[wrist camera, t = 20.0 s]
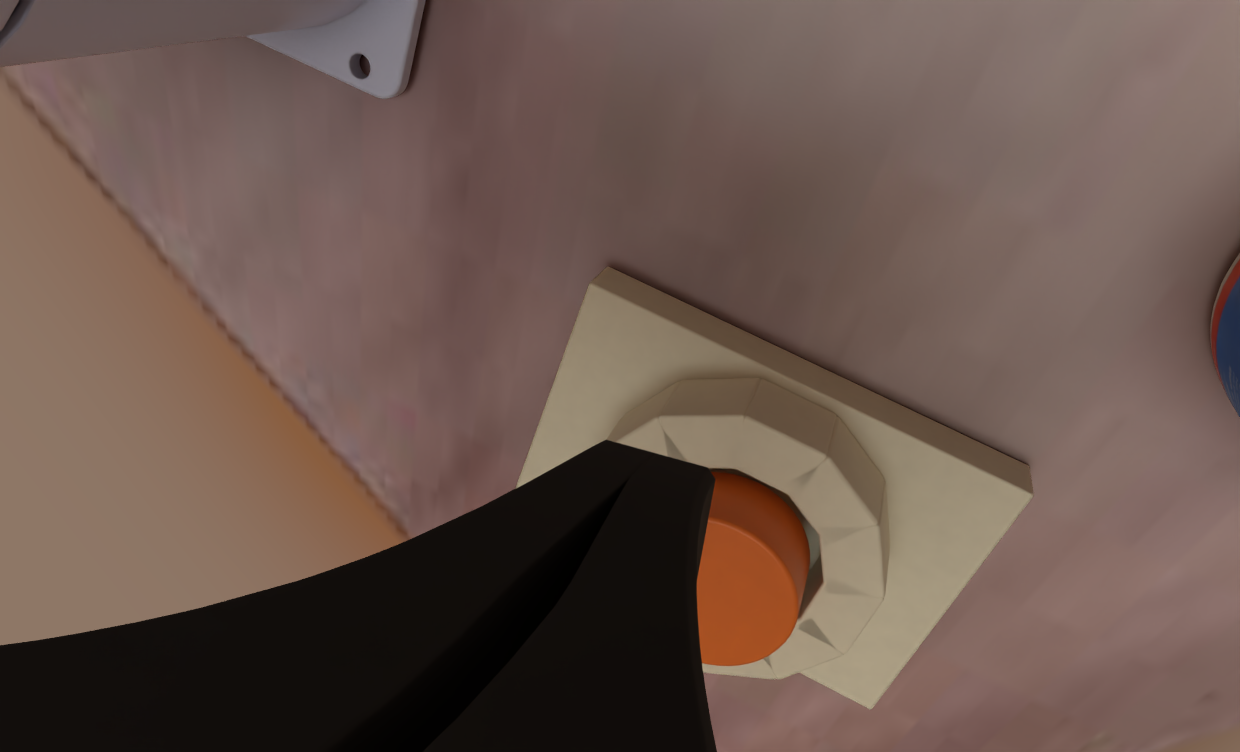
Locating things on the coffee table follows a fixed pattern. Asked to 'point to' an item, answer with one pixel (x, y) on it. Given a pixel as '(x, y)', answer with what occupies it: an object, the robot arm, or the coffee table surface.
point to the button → (749, 573)
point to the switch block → (792, 471)
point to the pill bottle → (1228, 334)
